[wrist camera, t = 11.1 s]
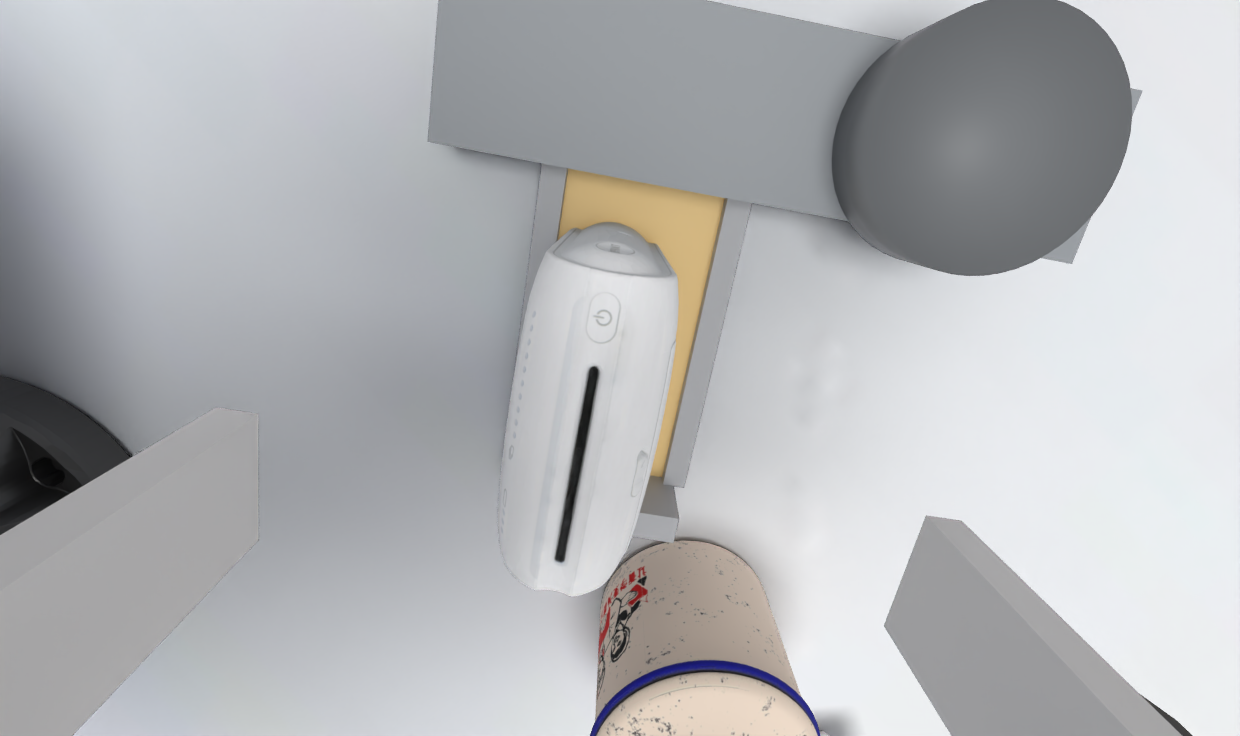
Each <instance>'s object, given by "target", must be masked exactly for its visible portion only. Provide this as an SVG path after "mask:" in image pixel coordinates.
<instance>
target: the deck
mask: <svg viewBox="0 0 1240 736" xmlns="http://www.w3.org/2000/svg"><path fill="white" fill-rule="evenodd" d="M1141 93H1142V91H1141V90H1137V89H1132V88H1130V83H1129V78H1128V74H1127V71H1126V68H1125V65H1124V62H1123V60H1122V58H1121V56H1120V53H1119V51H1118V49H1117V47H1116V46H1115V44H1114V43H1113V41H1112V40H1111V39H1110V37H1109V36H1108V34H1107V33H1106V32H1105V31H1104V30H1103V29H1102V28H1101V27H1100V26H1099V25H1098V24H1097V23H1096V22H1095V20H1093V19H1092V18H1090V17H1089V16H1088V15H1086V14H1085V13H1084V12H1082V11H1081V10H1079V9H1077V8H1075V7H1073V6H1071V5H1069V4H1067V3H1065V2H1061V1H1058V0H987V1H984V2H981V3H978V4H974V5H972V6H970V7H968V8H966V9H963V10H961V11H959V12H957V13H955V14H953V15H951V16H949V17H947V18H945V19H943V20H941V21H938V22H936V23H934V24H932V25H930V26H928V27H926V28H924V29H922V30H920V31H918V32H916V33H914V34H912V35H910V36H908V37H906V38H905V39H903V40H901V41H900V40H895V39H891V38H886V37H881V36H876V35H871V34H867V33H862V32H857V31H852V30H847V29H842V28H838V27H833V26H828V25H823V24H818V23H813V22H809V21H804V20H799V19H794V18H789V17H785V16H780V15H775V14H770V13H765V12H760V11H756V10H751V9H746V8H741V7H736V6H731V5H727V4H722V3H717V2H712V1H707V0H439V1H438V14H437V27H436V39H435V52H434V65H433V78H432V91H431V104H430V117H429V130H428V142H432V143H437V144H442V145H447V146H453V147H458V148H463V149H468V150H474V151H479V152H484V153H490V154H495V155H500V156H505V157H511V158H516V159H521V160H527V161H532V162H537V163H542V166H541V173H540V181H539V188H538V196H537V203H536V211H535V218H534V226H533V233H532V241H531V248H530V256H529V263H528V271H527V278H526V286H525V293H524V301H523V308H522V316H521V323H520V331H519V338H518V346H517V353H516V360H517V354H518V349H519V344H520V338H521V333H522V328H523V323H524V318H525V314H526V310H527V304H528V301H529V296H530V293H531V290H532V287H533V283H534V280H535V277H536V274H537V272H538V269H539V267H540V264H541V262H542V260H543V257H544V255H545V253H546V251H547V250H548V249H549V248H551V246H552V245H553V244H554V243H555V242H556V241H558V240H559V239H560V238H561V237H562V236H563V235H565V234H566V233H567V232H568V231H569V230H571V229H572V228H578V229H585V228H587V227H589V226H591V225H594V224H597V223H601V222H616V223H620V224H624V225H626V226H629V227H631V228H632V229H634V230H635V231H637V232H638V233H639V234H640V235H641V236H642V237H643V238H644V239H645V240H646V241H647V242H648V243H655V244H657V245H658V246H659V248H660V249H661V251H662V253H663V254H664V256H665V258H666V259H667V261H668V262H669V264H670V265H671V267H672V268H673V270H674V271H675V273H676V274H677V278H678V299H679V306H678V324H677V332H676V347H675V354H674V361H673V367H672V374H671V380H670V385H669V390H668V394H667V401H666V405H665V411H664V416H663V420H662V425H661V430H660V435H659V439H658V444H657V448H656V452H655V456H654V461H653V464H652V469H651V473H650V477H649V480H648V484H647V488H646V492H645V496H644V499H643V503H642V506H641V509H640V513H639V516H638V520H637V523H636V526H635V529H634V532H633V535H632V537H637V538H644V539H650V540H656V541H663V542H669V543H674V538H675V534H676V530H677V526H678V522H679V515H678V509H677V503H676V498H675V492H674V486H676V487H682V488H684V486H685V482H686V478H687V473H688V469H689V465H690V461H691V457H692V452H693V448H694V444H695V440H696V436H697V432H698V427H699V423H700V419H701V415H702V411H703V406H704V402H705V398H706V394H707V390H708V386H709V381H710V377H711V373H712V369H713V365H714V360H715V356H716V352H717V348H718V344H719V340H720V335H721V331H722V327H723V323H724V319H725V314H726V310H727V306H728V302H729V298H730V294H731V289H732V285H733V281H734V277H735V273H736V268H737V264H738V260H739V256H740V252H741V247H742V243H743V239H744V235H745V231H746V227H747V222H748V218H749V214H750V210H751V206H752V203H753V204H759V205H764V206H769V207H775V208H780V209H785V210H790V211H796V212H801V213H806V214H812V215H817V216H822V217H827V218H833V219H838V220H843V221H848V222H849V223H850V224H851V226H852V227H853V228H854V229H855V230H856V232H857V233H858V234H859V235H860V236H861V237H862V238H863V239H864V240H865V241H867V242H868V243H869V244H870V245H871V246H873V247H875V248H876V249H878V250H879V251H881V252H883V253H885V254H887V255H890V256H892V257H894V258H897V259H900V260H904V261H907V262H911V263H914V264H917V265H921V266H924V267H928V268H931V269H934V270H938V271H942V272H946V273H950V274H956V275H964V276H984V275H991V274H998V273H1002V272H1006V271H1010V270H1013V269H1017V268H1019V267H1022V266H1024V265H1027V264H1029V263H1032V262H1034V261H1036V260H1037V259H1039V258H1044V259H1049V260H1054V261H1060V262H1065V263H1070V264H1072V262H1073V260H1074V257H1075V255H1076V253H1077V250H1078V248H1079V245H1080V243H1081V240H1082V238H1083V235H1084V233H1085V230H1086V228H1087V226H1088V223H1089V221H1090V218H1091V216H1092V215H1093V213H1094V212H1095V211H1096V210H1097V208H1098V207H1099V206H1100V204H1101V203H1102V202H1103V200H1104V198H1105V197H1106V195H1107V193H1108V192H1109V190H1110V189H1111V187H1112V185H1113V183H1114V181H1115V179H1116V177H1117V174H1118V172H1119V170H1120V168H1121V165H1122V162H1123V159H1124V156H1125V153H1126V150H1127V146H1128V141H1129V137H1130V131H1131V121H1132V115H1133V113H1134V110H1135V108H1136V105H1137V103H1138V101H1139V98H1140V96H1141ZM515 366H516V361H515ZM514 372H515V368H514ZM513 378H514V376H513ZM512 384H513V383H512Z"/></svg>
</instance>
